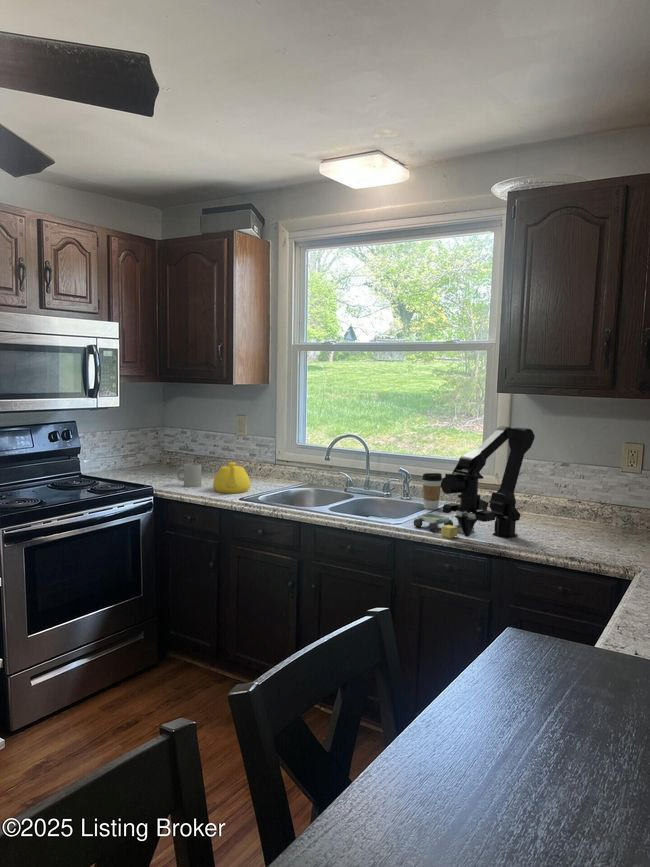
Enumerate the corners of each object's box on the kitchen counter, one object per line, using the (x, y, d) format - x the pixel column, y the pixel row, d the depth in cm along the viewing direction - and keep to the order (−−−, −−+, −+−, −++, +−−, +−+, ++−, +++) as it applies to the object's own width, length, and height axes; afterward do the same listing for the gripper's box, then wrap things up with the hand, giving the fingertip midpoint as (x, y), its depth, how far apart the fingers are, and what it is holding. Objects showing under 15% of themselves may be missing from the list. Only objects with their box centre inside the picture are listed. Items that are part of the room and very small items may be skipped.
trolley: (453, 528, 235) (453, 517, 235) (435, 532, 229) (435, 520, 229) (431, 523, 244) (431, 512, 243) (413, 526, 238) (413, 515, 237)
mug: (202, 484, 319) (202, 463, 318) (199, 487, 310) (199, 465, 309) (178, 484, 318) (178, 462, 317) (175, 487, 310) (175, 465, 309)
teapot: (251, 495, 292) (251, 466, 291) (212, 496, 290) (212, 466, 288) (249, 486, 317) (249, 459, 316) (213, 486, 314) (213, 459, 313)
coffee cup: (440, 510, 268) (442, 475, 267) (420, 509, 270) (421, 474, 268) (441, 506, 276) (442, 472, 275) (421, 505, 278) (422, 471, 277)
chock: (457, 536, 224) (457, 527, 224) (449, 538, 222) (450, 528, 222) (448, 534, 227) (448, 524, 227) (441, 535, 225) (441, 526, 225)
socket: (474, 531, 232) (474, 527, 231) (463, 534, 228) (463, 529, 228) (460, 528, 236) (460, 524, 236) (449, 530, 233) (449, 526, 232)
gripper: (506, 493, 215) (504, 539, 216) (462, 485, 229) (461, 528, 231) (485, 497, 208) (483, 543, 209) (442, 488, 222) (440, 532, 224)
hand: (467, 536), depth 218 cm, fingers closed
